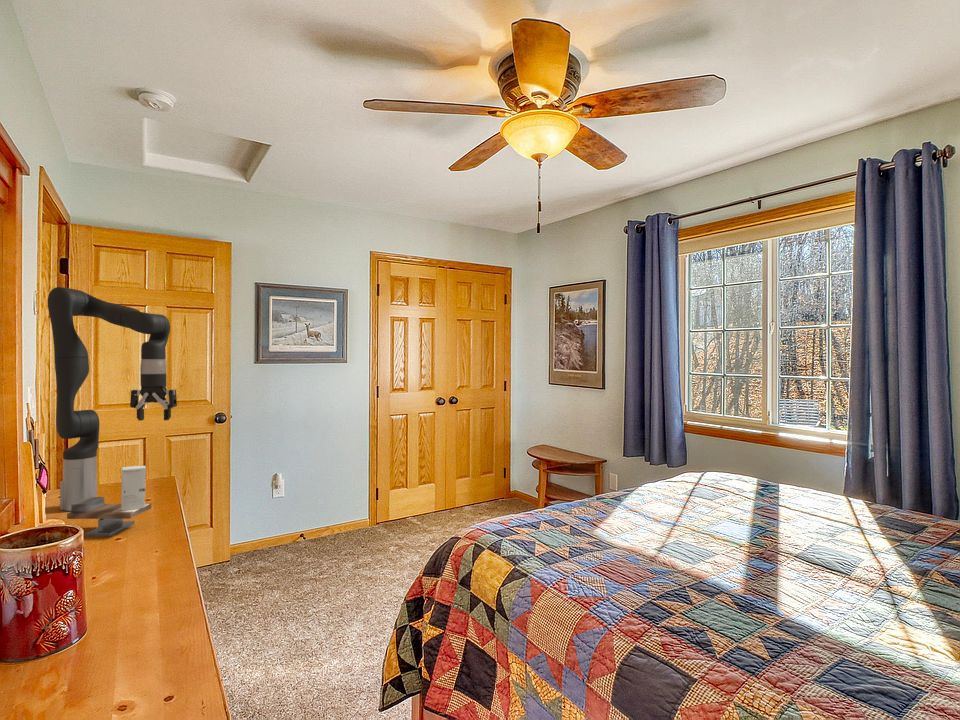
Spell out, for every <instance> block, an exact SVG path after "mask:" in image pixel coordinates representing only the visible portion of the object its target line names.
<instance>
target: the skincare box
mask: <svg viewBox="0 0 960 720" xmlns="http://www.w3.org/2000/svg"><path fill="white" fill-rule="evenodd" d="M146 466H147V465H133V466H132V465H131V466H122V467H121V486H120V487H121V488H120V489H121V491H120V492H121V493H120V495H121V496H120V504H121V511H123V510H130V509H139V508H144V507H145V504H146V502H145V501H146V471H147V470H146V469H147V467H146Z"/></svg>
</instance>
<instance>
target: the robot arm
mask: <svg viewBox="0 0 960 720" xmlns="http://www.w3.org/2000/svg"><path fill="white" fill-rule="evenodd" d="M47 310H48V315H49V319H50V325H51V330H52V341H53V349H54V350H53V351H54V352H53V353H54V357H53V359H54V372H55V382H56V415H55V425H56V426H55V427H56V431H57V435H58V436H59V438H61V439H62V440H72V439H78V438H79V440H78V441H77V442H76V443H75V444H74V445H72V446H70V447H68V448H66V449H64V450H63V452H62V466H63V467H62V471H63V474H62V477H63V479H62V481H60V482H59V505H60V506H59V508H60V509H59V510H60V511H61V510H62V511H66V512H71V504H74V503H76V502H79V501H82V500H84V499H87V498H90V497H98V462H97V461H98V449H99V439H100V438H99V437H100V417H99V414H98V413H97V411H95V410H93V409H80V410H75V407H74V406H75V401H76V400H75V398H76V396H77V394H78V391H79V390H80V389H81V387H82V385H83V384H84V382H85V381H86V379H87V377H88V376H89V373H90V359H89V352H88V350H87V348H86V346H85V344H84V342H83V341H82V339H81V338H80V336H79V334H78V333H77V331H76V329H75V325H74V318H73V317H92V318H96V319H97V318H98V319H100V320H103V321H104V322H107V323H109V324H112V325H115V326H120V327H123V328H126V329H130V330H132V331H134V332H138V333H140V334H145V335H149V337H148V338H149V339H148V340H147V341H145V342H143V343H142V344H141V345H140V347H141V349H140V353H141V354H140V355H141V356H140V358H141V359H140V360H141V361H140V367H139V368H140V369H139V371H140V373H139V374H140V379H139V380H140V389H131V390H130V404H129V407H130V408H134V409H135V410H136V420H138V421H144V420H145V407H146V405H147V404H148V403H153V404H154V403H159V405H161V407H163V421H169V420H170V419H171V417H172V409H173V408H176V407H177V406H178V402H177V401H178V400H177V389H167V383H168V382H167V380H168V379H167V378H168V377H167V376H168V375H167V360H166V354H167V353H166V346H167V343H168V339H169V336H170V332H171V322H170V320H169V318H168V317H167V316H165V315H164V314H159V313H149V312H146V311H145V312H144V311H140V310H139V309H137V308H134V307H130V306H127V305H122V304H118V303H113V302H108V301H105V300H102V299H100V298H97V297H95V296H93V295H91V294H89V293H86V292H84V291H83V290H79V289H75V288H69V287H64V286H56V287H54V288H52V289H51V290H50V292H49V293H48V296H47ZM140 396H141V398H140ZM166 396H168V399H167V397H166ZM139 399H140V400H139Z"/></svg>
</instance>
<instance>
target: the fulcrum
mask: <svg viewBox="0 0 960 720" xmlns="http://www.w3.org/2000/svg"><path fill="white" fill-rule="evenodd" d="M134 525H135V520H124V519H97V527H96V528H94V529H92V530H89V531H87V532H85V533H84V534H85V537H86V536H87V537H88V538H90V537H92V538H93V537H94V538H95V537H99V538H101V537H102V538H103V537H107V538H108V537H112V536H114V535H117V534H119V533H120V532H121V531H124V530H125V529H128V528H130V527H131V526H134Z"/></svg>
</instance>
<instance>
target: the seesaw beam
mask: <svg viewBox="0 0 960 720" xmlns="http://www.w3.org/2000/svg"><path fill="white" fill-rule="evenodd" d="M151 509H152V503H145V507H144V508H139V509H130V510H123V511H121V503H105V496H97V497H90V498H87V499H84V500H82V501H79V502H76V503H74V504H71V511H69V512H68V513H66V519H67V520H90V519H91V520H93V519H95V520H99V519H123V520H124V519H126V520H128V519H129V520H130V519H133V518H135V517H137V516H138V515H141V514H143V513H145V512H147V511H149V510H151Z"/></svg>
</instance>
